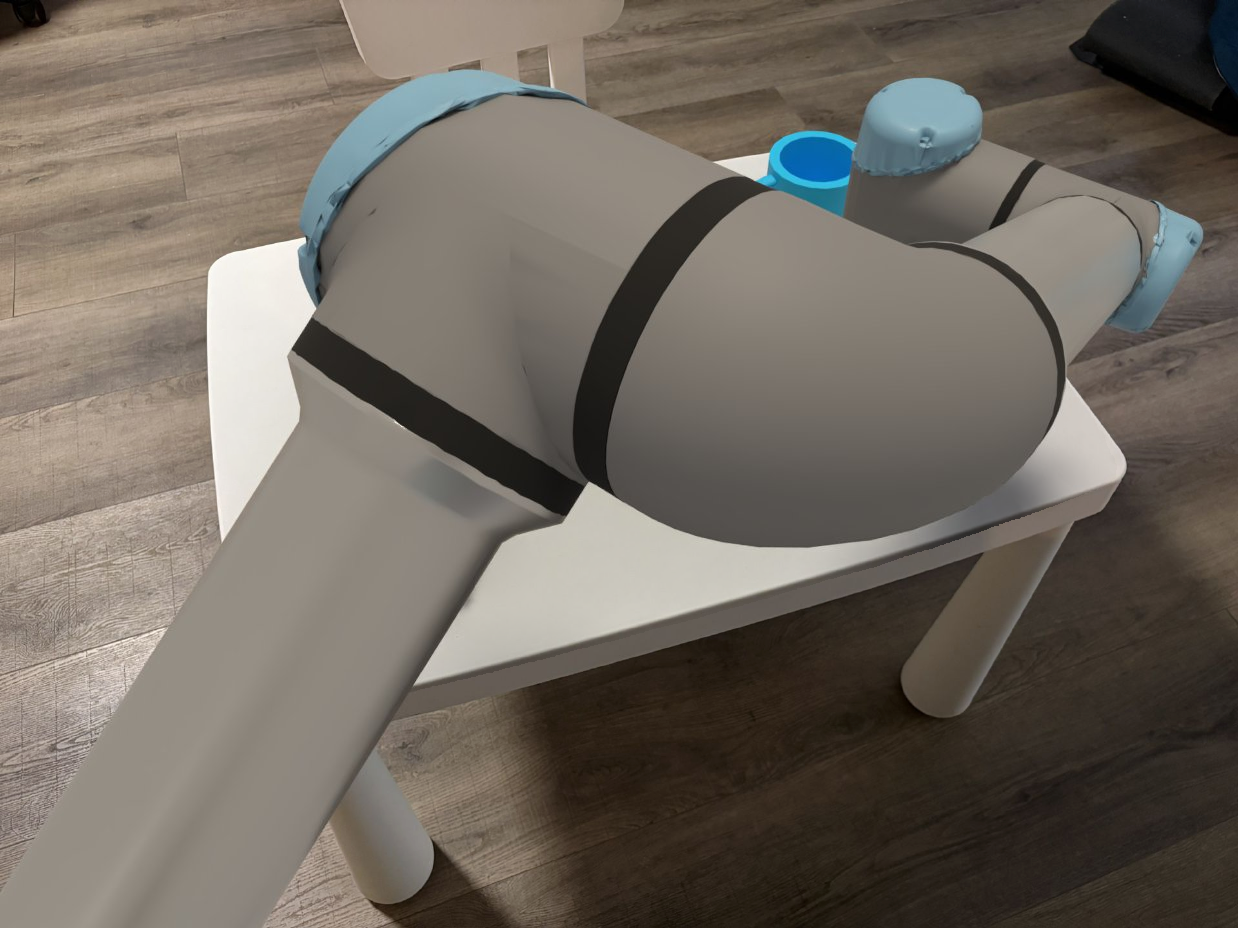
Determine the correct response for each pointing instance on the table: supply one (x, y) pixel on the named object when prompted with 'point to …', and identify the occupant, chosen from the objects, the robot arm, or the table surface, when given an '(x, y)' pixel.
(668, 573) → the table surface
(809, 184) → the mug
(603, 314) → the robot arm
